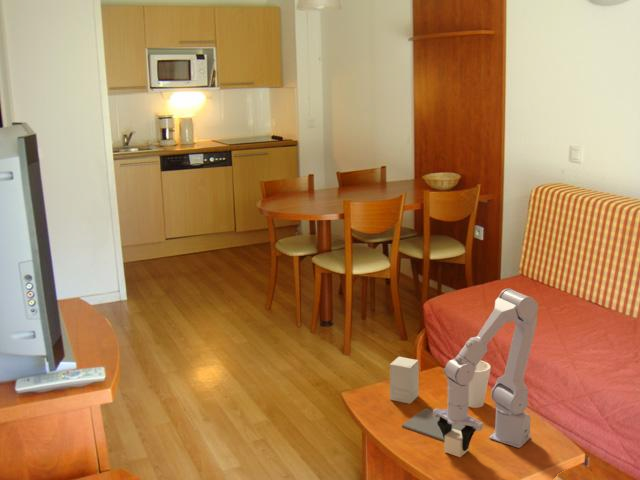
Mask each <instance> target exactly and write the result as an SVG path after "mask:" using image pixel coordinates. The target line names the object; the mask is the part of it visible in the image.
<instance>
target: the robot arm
mask: <svg viewBox="0 0 640 480" xmlns="http://www.w3.org/2000/svg"><path fill="white" fill-rule="evenodd" d="M539 305H540V304H538V303H537V301H536V300H535V298H533V297H532V296H528V295H525V294H524V293H521V292H518V291H515V290H514V289H512V288H505V289H503V290H502V291H501V292H500V294H499V295H498V296H497V298H496V299H495V301H494V308H493V311H491V314H489V317H488V318H487V319H486V321H485V323H484V325H483V326H482V327H481V329H480V331H479V332H478V334H477V335H476V336H473V337H469V339H468V340H467V341H465V343H464V346H463V347H462V348H461V350H460V351H459V353H458V354H457V355H456V356H455V358H452V359H450V360H449V361H447V363H446V364H445V367H444V368H443V374H444V376H445V377H446V383H447V397H446V398H447V405H446V407H447V408H446V409H442V408H437V407H436V408H434V409H432V410H433V417H440V419H439V421H438V422H437V424H438V426H439V428H440V429H441V432H442V434H443V437H444V441H443V442H445V435H446V434H447V433H449V432H450V431H451V429H452V425H454V424H460V425H465V427H464V428H463V429H462V430H461V433H462V438H463V446H462V447H463V451H466V450H467V449H468V447H469V448H470V444H471V443H470V442H471V440H472V437H473V435H474V433H475V432H476V431H477V432H481V431H482V430H483V425H484V422H483V421H480V420H477V419H476V418H475V417H472V416H471V415H469V407H468V398H469V382H470V381H471V380H472V379H473V377H474V372H475V370H476V366H477V364H478V363H479V361H482V359H483V357H484V356H485V355H486V354H487V352H488V343H489V342H490V341H491V340H492V339H493V338H494V337H495V335H496V334H498V332H499V331H500V330H501V328H502V327H503V326H504V325H505V324H506V323H514V322H515V325H514V330H513V334H512V339H511V344H510V347H509V351H508V355H507V356H508V357H507V362H506V365H505V370H504V374H503V375H501V376H499V377H497V379H496V382H495V385H494V386H493V387H492V389H491V392H490V397H491V399H492V401H493V402H494V406H495V421H494V422H495V425H494V427H495V428H494V432H493V433H491V435H489V439H491V440H493V441H496V442H499V443H502V444H505V445H509V446H512V447H514V448H516V449H517V448H518V449H520V448H521V447H523V445H524V444H526V443H527V441H529V440H530V438H531V437H532V436H531V435H530V434H531V421H532V419H531V415H530V414H528V413H527V412H525V411H526V409H527V407H528V405H529V404H528V403H529V399H528V395H529V389H528V386H527V385H526V383H525V381H524V378H525V375H526V374H525V373H526V369H527V367H528V361H529V358H530V354H531V349H532V344H533V341H534V336H535V332H536V328H537V323H538V316H537V315H538V310H539Z"/></svg>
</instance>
